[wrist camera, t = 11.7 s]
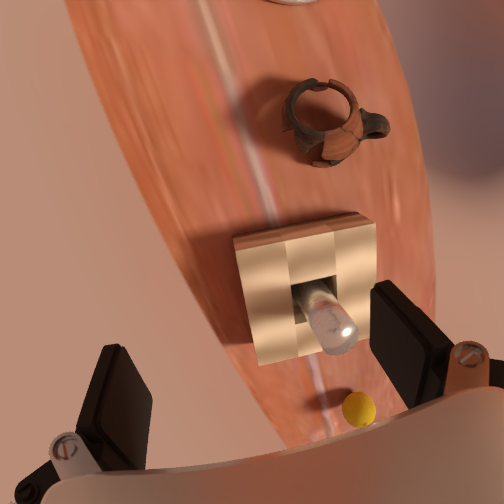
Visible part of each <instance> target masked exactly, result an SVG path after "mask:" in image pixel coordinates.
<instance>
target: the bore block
mask: <svg viewBox="0 0 504 504" xmlns="http://www.w3.org/2000/svg"><path fill="white" fill-rule="evenodd" d="M232 239H233V245H234V250H235V255H236V260H237V265H238V270H239V275H240V280H241V285H242V290H243V295H244V300H245V305H246V310H247V314H248V319H249V324H250V329H251V334H252V339H253V343H254V348H255V352H256V356H257V361H258V365H259V366H261V365H265V364H270V363H274V362H279V361H283V360H287V359H292V358H296V357H300V356H304V355H308V354H312V353H316V352H320V351H323V349H322V347H321V345H320V343H319V341H318V340H317V338H316V336H315V334H314V332H313V330H312V329H311V327H310V325H309V323H308V321H307V319H306V317H305V316H304V314H303V312H302V310H301V308H300V306H299V305H298V303H297V301H296V299H295V297H294V295H293V294H292V292H291V285H293V284H297V283H302V282H306V281H311V280H315V279H319V278H321V280H322V281H323V282H324V284H325V285H326V286H327V287H328V289H329V290H330V291H331V293H332V294H333V295H334V296H335V298H336V299H337V300H338V302H339V303H340V304H341V306H342V307H343V308H344V310H345V311H346V312H347V313H348V315H349V316H350V317H351V319H352V320H353V321H354V323H355V324H356V325H357V327H358V329H359V338H358V341H359V340H362V339H365V338H369V337H370V290H371V289H372V288H374V284H375V283H376V223H375V222H373V221H371V220H370V219H368V218H366V217H365V216H363V215H361V214H360V213H358V212H355V213H349V214H344V215H339V216H333V217H328V218H322V219H317V220H312V221H306V222H301V223H296V224H291V225H285V226H280V227H275V228H270V229H265V230H260V231H255V232H250V233H244V234H239V235H234V236H232Z"/></svg>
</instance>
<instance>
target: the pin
mask: <svg viewBox="0 0 504 504" xmlns="http://www.w3.org/2000/svg"><path fill="white" fill-rule="evenodd" d="M291 292H292V294H293V295H294V297H295V299H296V301H297V303H298V305H299V306H300V308H301V310H302V312H303V314H304V316H305V317H306V319H307V321H308V323H309V325H310V327H311V329H312V330H313V332H314V334H315V336H316V338H317V340H318V341H319V343H320V345H321V347H322V349H323V351H324V352H325V353H327V354H329V355H340V354H343V353H345V352H347V351H349V350H350V349H351V348H352V347H353V346H354V345H355V344H356V342H357V341H358V338H359V329H358V327H357V325H356V324H355V323H354V321H353V320H352V319H351V317H350V316H349V315H348V313H347V312H346V311H345V310H344V308H343V307H342V306H341V304H340V303H339V302H338V300H337V299H336V298H335V296H334V295H333V294H332V293H331V291H330V290H329V289H328V287H327V286H326V285H325V284H324V282H323V281H322V280H321V278H319V279H315V280H311V281H306V282H302V283H297V284H293V285H291Z"/></svg>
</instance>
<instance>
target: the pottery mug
mask: <svg viewBox="0 0 504 504" xmlns="http://www.w3.org/2000/svg"><path fill="white" fill-rule="evenodd" d="M328 87H329V88H332V89H335V90H337V91H339V92H340V93H342V94H343V95H344V96H345V97H346V99H347V100H348V102H349V105H350V115H349V117H348V119H347V120H346V122H345V123H344V124H342V125H341V126H340V127H337V128H335V129H332V130H326V131H319V130H314V129H311V128H309V127H307V126H305V125H304V124H302V123H301V122H300V121H299V120H298V119H297V117H296V115H295V112H294V104H295V101H296V99H297V98H298V97H299V95H300V94H301V93H302V92H304V91H306V90H308V89H310V88H312V89H313V90H314V91H323V90H327V89H328ZM292 129H294V135H293V136H294V140H295V142H296V143H297V147H298V149H299V150H300V151H302V152H303V153H308V151H309V149H310V148H312V147H314V146H315V145H317V144H319V143H320V142H323V150H322V153H321V157H322V158H323V159H324V160H330V162H321V161H312V166H313V167H318V168H326V167H332V166H335V165H337V164H339V163H340V162H341V161H343V160H344V159H345V158H347V157H348V156H349V155H351V154H352V153H353V152H354V151H355V150H356V149H357V147H358V146H359V144H360V142H361V141H362V140H365V139H379V138H384V137H386V136H387V135H388V134H389V132H390V125H389V121H388V120H387V119H386V118H385V117H384V116H383V115H380V114H376V113H369V112H367V111H365V110H364V109H363V108H360V109H359V108H358V102H357V100H356V97H355V96H354V94H353V93H352V91H351V90H350V89H349V88H348V87H347V86H345V85H344V84H342V83H341V82H339V81H336V80H333V79H329V83H326V82H319V81H318V80H316V79H314V78H310V79H307V80H305V81H303V82H301V83H299V84H298V85H296V86H295V87H294V88H293V89H292V91H291V92H290V95H289V96H288V97H287V99H286V100H285V104H284V105H283V108H282V132H285V131H286V130H292Z"/></svg>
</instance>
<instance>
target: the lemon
mask: <svg viewBox="0 0 504 504" xmlns="http://www.w3.org/2000/svg"><path fill="white" fill-rule="evenodd" d="M342 412H343V415H344V417H345V419H346V420H347V422H348V423H349V424H351V425H352V426H354V427H357V428H362V427H365V426H368V425H369V424H371V423H372V421H373V420H374V418H375V415H376V410H375V405H374V402H373V401H372V399H371V398H370V397H369V396H368V395H367V394H365V393H363V392H354V393H350V394H349V395H348V396H347V397H346V398H345V400H344V401H343V404H342Z"/></svg>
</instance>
